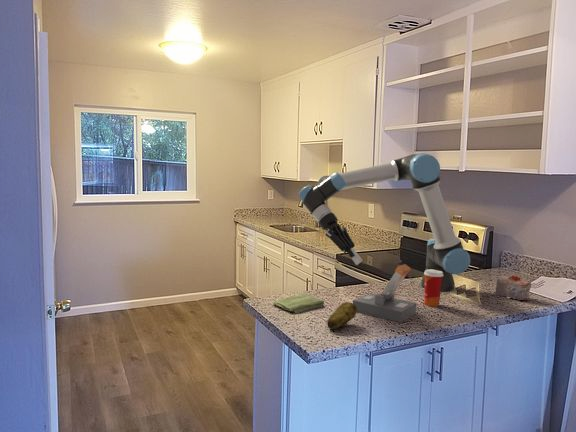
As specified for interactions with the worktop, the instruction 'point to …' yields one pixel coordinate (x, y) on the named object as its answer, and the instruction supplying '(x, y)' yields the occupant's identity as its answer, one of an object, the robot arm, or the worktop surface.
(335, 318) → the potato
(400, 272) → the lever
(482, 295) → the worktop surface
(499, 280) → the food item
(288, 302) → the washcloth
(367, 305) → the switch block
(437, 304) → the paper cup
